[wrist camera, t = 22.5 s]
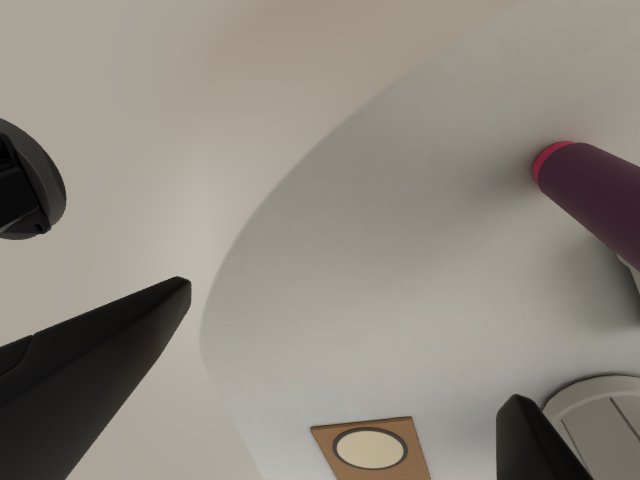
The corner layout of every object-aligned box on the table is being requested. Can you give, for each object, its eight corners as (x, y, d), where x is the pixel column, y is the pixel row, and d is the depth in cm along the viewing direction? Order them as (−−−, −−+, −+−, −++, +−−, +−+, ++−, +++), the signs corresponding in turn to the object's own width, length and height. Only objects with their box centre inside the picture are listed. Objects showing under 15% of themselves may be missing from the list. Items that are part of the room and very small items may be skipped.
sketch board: (310, 427, 31) (310, 431, 31) (411, 416, 29) (411, 421, 29) (356, 511, 38) (357, 515, 38) (440, 507, 36) (440, 512, 36)
